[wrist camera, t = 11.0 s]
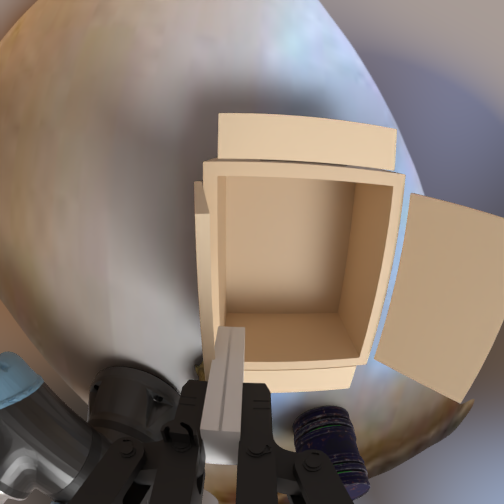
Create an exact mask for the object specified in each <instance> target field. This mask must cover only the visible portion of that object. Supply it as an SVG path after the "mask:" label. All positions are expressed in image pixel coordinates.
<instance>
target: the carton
mask: <svg viewBox="0 0 504 504" xmlns="http://www.w3.org/2000/svg"><path fill="white" fill-rule="evenodd" d="M396 135H397V129H392V128H387V127H381V126H376V125H370V124H364V123H357V122H350V121H343V120H335V119H326V118H317V117H306V116H294V115H279V114H255V113H219V120H218V157H216V158H213V159H210V160H207V161H204V162H203V189H204V193H205V197H206V201H207V205H208V209H209V213H210V256H211V287H212V311H213V331H214V346H215V341H216V335H217V330H218V326H226V327H245V352H244V381H243V383H265V384H266V385H267V387H268V389H269V390H270V393H285V392H307V391H322V390H334V389H345V388H349V387H350V384H351V381H352V378H353V375H354V372H355V369H356V365H365V364H366V363H367V360H368V357H369V354H370V351H371V348H372V344H373V341H374V338H375V334H376V331H377V327H378V324H379V320H380V316H381V312H382V308H383V304H384V300H385V296H386V292H387V288H388V283H389V279H390V274H391V269H392V264H393V259H394V254H395V249H396V243H397V237H398V231H399V224H400V218H401V210H402V203H403V194H404V185H405V175H404V174H400V173H396V172H391V171H387V170H394V168H395V154H396ZM378 168H379V169H378ZM382 169H386V170H382Z"/></svg>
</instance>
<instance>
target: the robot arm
mask: <svg viewBox="0 0 504 504" xmlns="http://www.w3.org/2000/svg"><path fill="white" fill-rule="evenodd" d="M214 349H215V359H214V360H212V363H211V368H210V374H209V379H208V381H198V380H188V382H187V383H186V384H185V385H184V386H183V387H182V391H181V395H179V394H178V393H177V392H176V391H175V390H174V389H173V388H172V387H171V386H169V385H168V384H167V383H165V382H164V381H162V380H160V379H159V378H157V377H155V376H153V375H151V374H149V373H146V372H143V371H141V370H137V369H133V368H128V367H110V368H106V369H104V370H102V371H100V372H99V373H98V374H97V376H96V377H95V379H94V381H93V383H92V385H91V388H90V393H89V405H88V420H87V422H86V421H84V420H83V419H82V418H81V417H80V416H79V415H78V414H76V413H75V412H74V411H73V410H72V409H71V408H70V407H69V406H68V405H67V404H65V402H64V401H62V400H61V399H60V398H59V397H58V396H57V395H56V394H55V393H54V392H53V391H52V390H51V389H50V388H49V387H48V385H47V384H46V383H45V382H44V381H43V379H42V377H41V376H40V375H38V374H36V373H35V372H34V371H33V370H32V369H31V368H30V367H29V366H28V365H27V364H26V363H25V361H24V360H23V359H22V358H21V357H20V356H18V355H17V354H15V353H13V352H3V353H1V354H0V504H3V503H4V502H5V500H7V498H10V499H15V500H24V499H26V498H27V497H28V495H29V494H30V493H31V492H32V491H33V490H34V489H38V490H40V491H41V492H43V493H44V494H46V495H47V496H49V497H50V498H52V499H53V501H52V502H51V504H202V496H203V488H204V480H205V469H204V467H205V460H206V463H212V464H226V465H237V488H236V504H278V497H277V492H279V493H283V494H287V497H288V499H289V502H290V504H354V503H353V501H352V499H351V497H350V496H349V494H348V492H347V490H346V488H345V486H344V484H343V483H342V481H341V479H340V477H339V475H338V473H337V471H336V469H335V467H334V466H333V464H332V462H331V460H330V458H329V457H328V456H327V454H326V453H324V452H322V451H320V450H315V449H311V450H306V451H303V452H301V453H296V452H291V451H288V450H285V449H283V448H281V447H279V446H278V445H277V444H276V443H275V441H274V439H273V433H272V414H271V395H270V390H269V389H268V387H267V385H266V384H265V383H243V381H244V352H245V327H226V326H218V330H217V335H216V341H215V346H214Z"/></svg>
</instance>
